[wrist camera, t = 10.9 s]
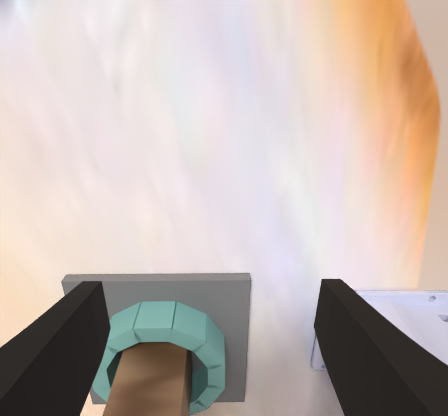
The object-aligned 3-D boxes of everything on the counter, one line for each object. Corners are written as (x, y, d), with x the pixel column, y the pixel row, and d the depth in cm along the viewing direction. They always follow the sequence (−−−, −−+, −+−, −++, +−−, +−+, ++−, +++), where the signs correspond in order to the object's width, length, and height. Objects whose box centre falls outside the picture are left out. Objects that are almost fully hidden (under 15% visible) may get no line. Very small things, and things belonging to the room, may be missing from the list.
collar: (249, 273, 23) (254, 305, 20) (243, 392, 28) (246, 432, 25) (66, 274, 22) (43, 307, 19) (96, 395, 28) (81, 435, 25)
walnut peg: (189, 327, 24) (177, 444, 17) (192, 368, 26) (183, 489, 18) (130, 329, 24) (92, 447, 16) (137, 369, 26) (107, 492, 18)
